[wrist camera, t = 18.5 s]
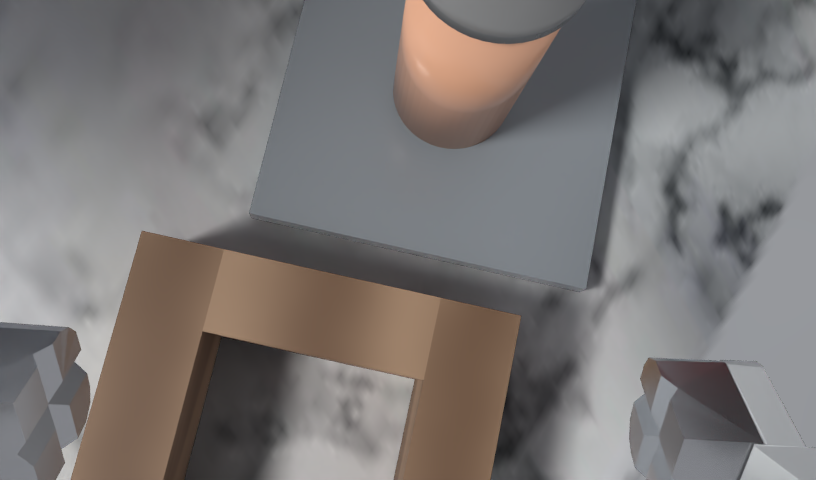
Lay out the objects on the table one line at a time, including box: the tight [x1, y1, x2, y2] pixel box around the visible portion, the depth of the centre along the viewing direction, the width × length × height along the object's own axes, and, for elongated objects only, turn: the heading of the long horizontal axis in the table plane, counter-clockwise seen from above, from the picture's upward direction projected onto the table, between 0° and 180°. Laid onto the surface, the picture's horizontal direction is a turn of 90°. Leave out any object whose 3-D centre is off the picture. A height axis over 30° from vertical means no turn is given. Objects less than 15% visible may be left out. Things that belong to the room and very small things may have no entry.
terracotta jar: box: [393, 0, 586, 149], centre depth 27 cm, size 5×5×12 cm
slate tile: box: [249, 0, 636, 292], centre depth 33 cm, size 14×14×1 cm
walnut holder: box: [71, 231, 521, 480], centre depth 29 cm, size 14×14×4 cm
